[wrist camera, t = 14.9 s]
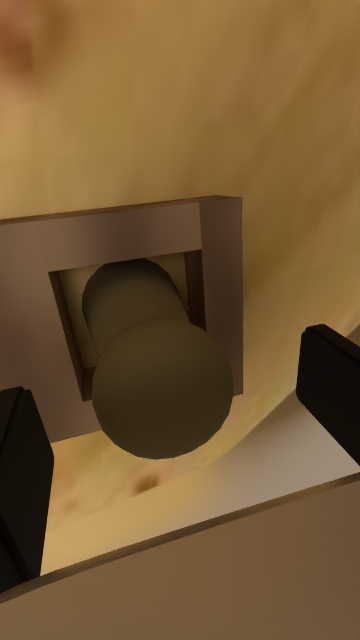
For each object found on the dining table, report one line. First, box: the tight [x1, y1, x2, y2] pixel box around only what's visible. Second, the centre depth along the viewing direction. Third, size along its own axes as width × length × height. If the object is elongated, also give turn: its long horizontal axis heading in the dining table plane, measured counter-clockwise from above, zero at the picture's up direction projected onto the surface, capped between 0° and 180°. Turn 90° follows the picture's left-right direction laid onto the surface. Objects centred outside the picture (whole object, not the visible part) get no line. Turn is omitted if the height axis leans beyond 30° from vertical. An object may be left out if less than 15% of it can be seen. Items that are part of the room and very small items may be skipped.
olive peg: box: [82, 258, 234, 460], centre depth 15 cm, size 6×6×11 cm
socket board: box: [0, 196, 243, 443], centre depth 17 cm, size 22×12×4 cm, turn 95°
